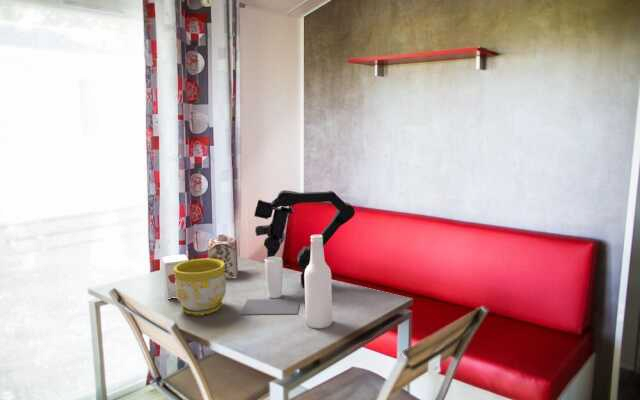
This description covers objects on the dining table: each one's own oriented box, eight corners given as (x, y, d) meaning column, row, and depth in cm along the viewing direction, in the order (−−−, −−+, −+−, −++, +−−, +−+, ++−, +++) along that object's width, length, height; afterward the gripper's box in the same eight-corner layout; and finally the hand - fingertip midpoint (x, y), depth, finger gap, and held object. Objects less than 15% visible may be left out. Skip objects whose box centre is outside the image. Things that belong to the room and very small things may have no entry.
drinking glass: (286, 294, 192) (285, 256, 189) (279, 300, 185) (278, 261, 183) (270, 292, 194) (269, 255, 191) (263, 298, 188) (261, 260, 185)
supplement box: (167, 300, 188) (164, 262, 186) (164, 293, 196) (161, 256, 194) (191, 296, 192) (188, 259, 189) (187, 289, 200) (184, 253, 198)
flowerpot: (166, 315, 174) (162, 270, 171) (195, 297, 190) (192, 256, 188) (210, 321, 167) (207, 275, 165) (236, 302, 184) (234, 260, 181)
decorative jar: (212, 271, 223) (209, 233, 220) (238, 270, 224) (236, 231, 221) (209, 280, 211) (206, 239, 208) (236, 278, 212) (234, 238, 209)
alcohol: (335, 327, 160) (333, 237, 155) (309, 331, 158) (307, 240, 153) (327, 316, 169) (325, 231, 164) (302, 320, 166) (300, 234, 161)
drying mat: (300, 299, 185) (300, 298, 185) (297, 314, 171) (297, 313, 171) (247, 300, 186) (247, 299, 186) (240, 314, 172) (240, 313, 172)
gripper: (263, 213, 205) (254, 248, 207) (255, 221, 186) (246, 259, 188) (289, 219, 205) (280, 255, 207) (284, 228, 186) (274, 267, 188)
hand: (270, 258), depth 198 cm, fingers open, 9 cm apart
